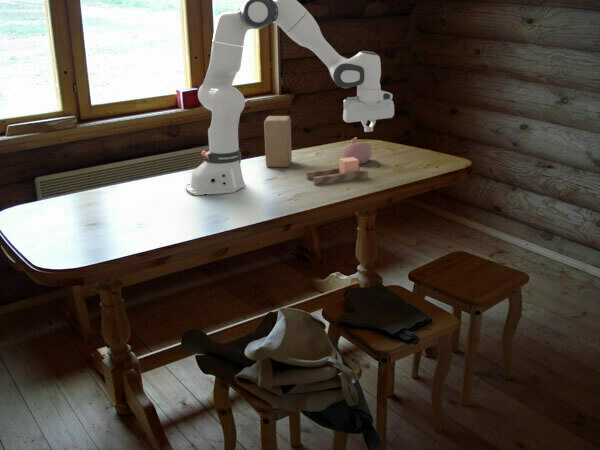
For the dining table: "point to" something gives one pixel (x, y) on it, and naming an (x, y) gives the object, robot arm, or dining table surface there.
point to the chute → (334, 176)
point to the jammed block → (348, 165)
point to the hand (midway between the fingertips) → (368, 131)
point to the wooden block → (278, 141)
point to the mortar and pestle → (358, 151)
